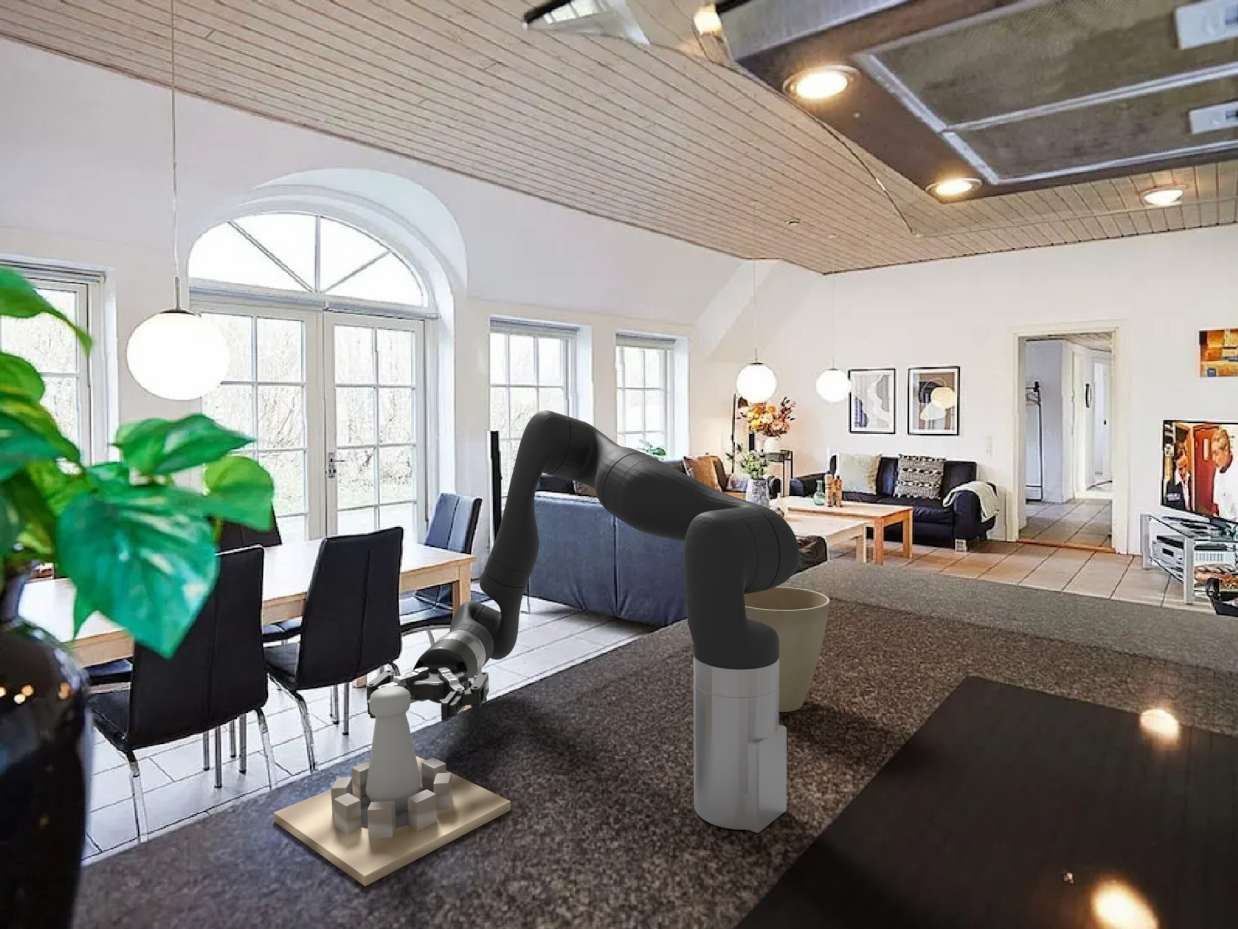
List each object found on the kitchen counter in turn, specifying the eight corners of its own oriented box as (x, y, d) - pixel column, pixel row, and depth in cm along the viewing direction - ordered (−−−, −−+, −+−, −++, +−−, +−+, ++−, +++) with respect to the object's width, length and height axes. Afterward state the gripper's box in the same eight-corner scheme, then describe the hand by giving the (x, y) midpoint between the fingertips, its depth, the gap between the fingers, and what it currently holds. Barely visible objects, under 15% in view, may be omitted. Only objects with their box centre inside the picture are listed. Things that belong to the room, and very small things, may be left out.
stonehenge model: (510, 810, 88) (510, 775, 87) (365, 886, 74) (363, 845, 74) (415, 763, 99) (414, 732, 99) (274, 821, 86) (272, 785, 86)
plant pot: (848, 703, 117) (849, 597, 116) (789, 732, 107) (790, 616, 106) (766, 678, 128) (766, 580, 127) (705, 702, 118) (705, 597, 117)
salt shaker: (401, 787, 91) (397, 676, 90) (432, 803, 87) (428, 687, 86) (355, 808, 86) (351, 691, 85) (386, 825, 83) (381, 704, 82)
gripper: (399, 637, 108) (347, 678, 92) (502, 638, 106) (467, 681, 90) (401, 690, 108) (350, 741, 92) (503, 693, 107) (469, 745, 91)
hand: (408, 711), depth 91 cm, fingers open, 8 cm apart
